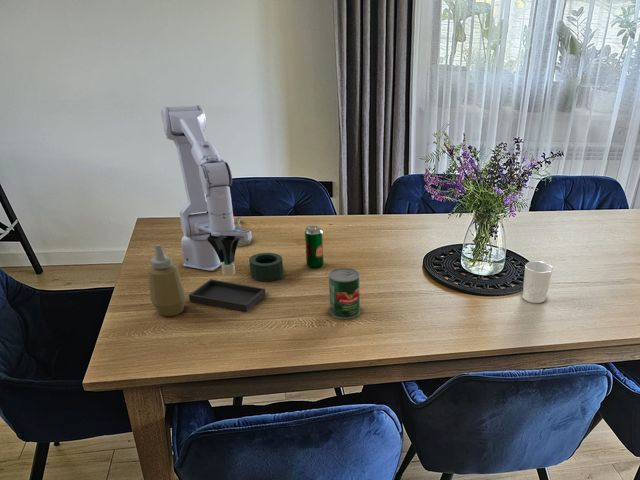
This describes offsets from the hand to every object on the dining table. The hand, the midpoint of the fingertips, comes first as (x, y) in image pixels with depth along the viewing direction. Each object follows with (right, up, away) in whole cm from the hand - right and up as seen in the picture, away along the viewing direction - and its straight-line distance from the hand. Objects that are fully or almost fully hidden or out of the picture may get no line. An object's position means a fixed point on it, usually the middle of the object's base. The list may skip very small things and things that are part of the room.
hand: (227, 261), depth 159 cm
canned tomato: (+30, -13, +4) cm, 33 cm away
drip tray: (-1, -9, +4) cm, 10 cm away
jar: (+5, -1, +18) cm, 19 cm away
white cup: (+83, -8, +20) cm, 85 cm away
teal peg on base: (0, -3, +2) cm, 3 cm away
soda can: (+17, +2, +26) cm, 31 cm away
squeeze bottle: (-13, -13, -4) cm, 19 cm away
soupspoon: (-12, +15, +42) cm, 46 cm away
